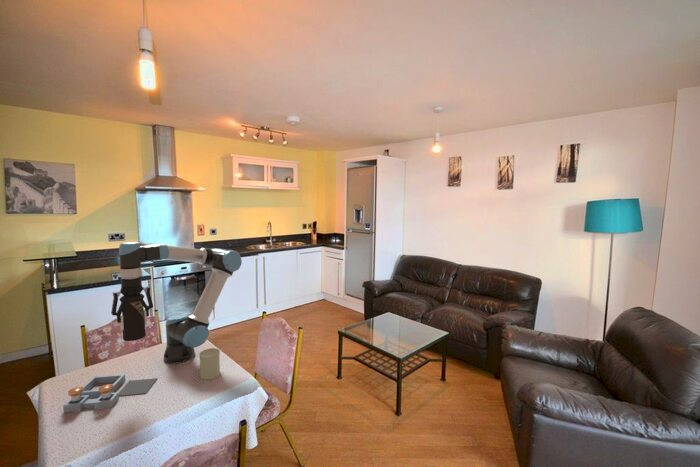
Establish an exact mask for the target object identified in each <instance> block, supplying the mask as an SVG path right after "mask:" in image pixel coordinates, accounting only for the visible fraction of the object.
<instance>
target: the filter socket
mask: <svg viewBox="0 0 700 467" xmlns="http://www.w3.org/2000/svg"><path fill="white" fill-rule="evenodd" d="M125 381H126V374H125V373H124V374H122V373H121V374H113V375H112V374H110V375H98V376H97V375H96V376H93V377H92V378H90V380H88V382H86V383H85V384H84V385H83V386H82V387H83V388H84V391H83V392H82V393H81V396H84V395H89V397H90V399H97V398H99V397H100V396H101V393H99V389H94V390H93V389H92V390H91V388H93V387H94V386H95V385H97V384H107V383H108V384H110V383H113V384H112V385H113V389H112V390H111V393H116V391H117V390H118V389H119V388H120V387H121V385H122V384H123V383H124V382H125Z"/></svg>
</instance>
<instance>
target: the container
mask: <svg viewBox="0 0 700 467" xmlns="http://www.w3.org/2000/svg"><path fill="white" fill-rule="evenodd" d="M144 298H145V295H144V294H143V293H140V295H132V296H129V297H126V298H125V296H124V295H122V296H121V297H119V302H120V303H121V302H122V303H123V311H122V313H121V314H122V315H123V324H124V330H122V340H123V341H125V342H134V341H137V340H138V341H139V340H141V339H143V338H145V337H146V325H145V320H144V309H145V308H144V307H143V300H144Z"/></svg>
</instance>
